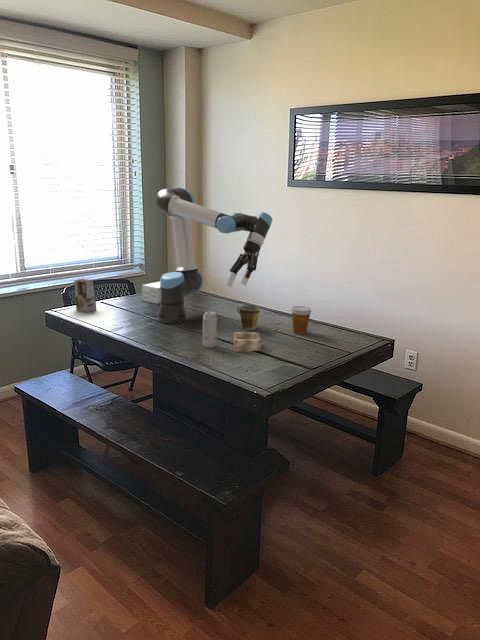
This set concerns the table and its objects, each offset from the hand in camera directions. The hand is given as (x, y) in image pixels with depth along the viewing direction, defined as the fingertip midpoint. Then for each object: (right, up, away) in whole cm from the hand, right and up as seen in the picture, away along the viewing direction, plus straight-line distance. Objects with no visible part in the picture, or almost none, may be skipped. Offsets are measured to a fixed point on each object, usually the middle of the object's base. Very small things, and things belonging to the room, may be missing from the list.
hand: (235, 285), depth 239 cm
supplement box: (-45, -4, +69) cm, 82 cm away
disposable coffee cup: (+31, -22, +13) cm, 40 cm away
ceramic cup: (+5, -20, +20) cm, 28 cm away
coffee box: (-80, -11, +43) cm, 91 cm away
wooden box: (+5, -28, -9) cm, 30 cm away
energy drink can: (-11, -27, -9) cm, 31 cm away
